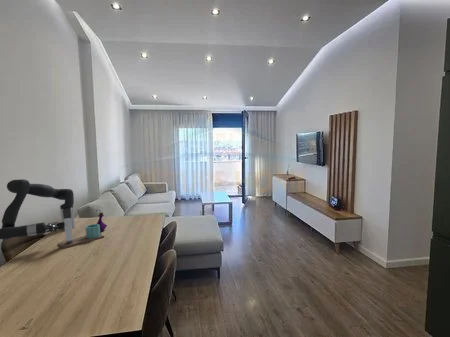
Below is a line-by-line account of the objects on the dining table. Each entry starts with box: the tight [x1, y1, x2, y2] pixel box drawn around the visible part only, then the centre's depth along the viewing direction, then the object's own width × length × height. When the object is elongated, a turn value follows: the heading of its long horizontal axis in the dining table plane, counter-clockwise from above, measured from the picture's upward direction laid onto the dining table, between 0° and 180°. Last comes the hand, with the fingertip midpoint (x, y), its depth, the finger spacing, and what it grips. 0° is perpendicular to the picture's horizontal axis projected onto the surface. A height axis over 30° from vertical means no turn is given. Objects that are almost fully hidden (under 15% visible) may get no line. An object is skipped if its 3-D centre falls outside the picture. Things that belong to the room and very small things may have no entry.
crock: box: [84, 223, 101, 239], centre depth 192 cm, size 9×9×8 cm
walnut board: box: [57, 233, 105, 250], centre depth 186 cm, size 12×27×1 cm, turn 138°
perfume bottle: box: [95, 208, 108, 233], centre depth 207 cm, size 8×8×18 cm
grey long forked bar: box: [63, 208, 74, 244], centre depth 179 cm, size 4×4×24 cm
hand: (64, 225), depth 178 cm, fingers open, 8 cm apart
